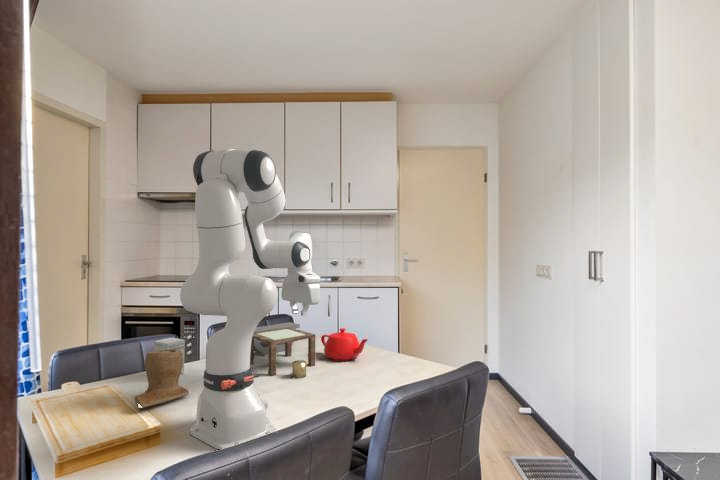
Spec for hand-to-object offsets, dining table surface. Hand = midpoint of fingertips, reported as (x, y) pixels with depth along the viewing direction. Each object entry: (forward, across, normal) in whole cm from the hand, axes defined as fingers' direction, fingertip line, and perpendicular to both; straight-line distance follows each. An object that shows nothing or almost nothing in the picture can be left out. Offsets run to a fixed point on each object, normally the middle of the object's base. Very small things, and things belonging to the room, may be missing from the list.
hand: (299, 314), depth 139 cm
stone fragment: (+23, -7, -21) cm, 31 cm away
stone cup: (+22, -8, -44) cm, 50 cm away
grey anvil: (+22, -36, +9) cm, 43 cm away
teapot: (+22, -7, +27) cm, 36 cm away
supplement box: (+22, -31, -35) cm, 52 cm away
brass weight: (+22, 0, 0) cm, 22 cm away
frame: (+22, -16, +2) cm, 27 cm away
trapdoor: (+11, -16, +2) cm, 20 cm away
